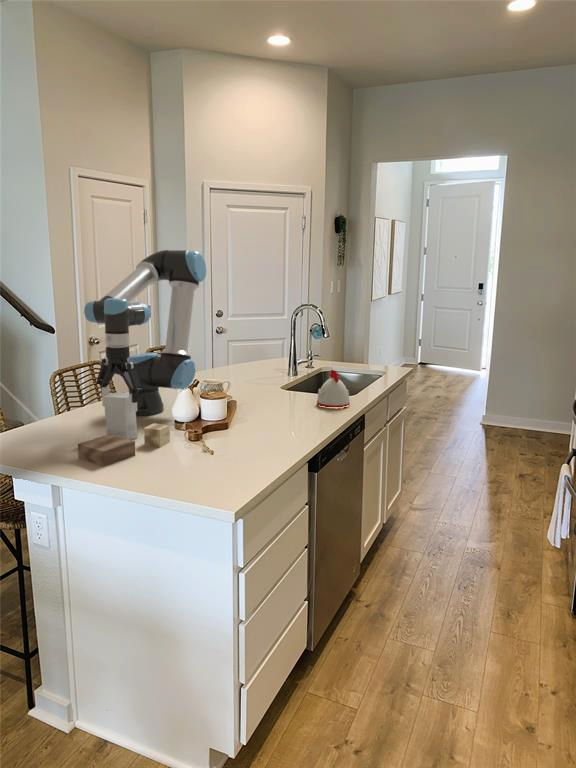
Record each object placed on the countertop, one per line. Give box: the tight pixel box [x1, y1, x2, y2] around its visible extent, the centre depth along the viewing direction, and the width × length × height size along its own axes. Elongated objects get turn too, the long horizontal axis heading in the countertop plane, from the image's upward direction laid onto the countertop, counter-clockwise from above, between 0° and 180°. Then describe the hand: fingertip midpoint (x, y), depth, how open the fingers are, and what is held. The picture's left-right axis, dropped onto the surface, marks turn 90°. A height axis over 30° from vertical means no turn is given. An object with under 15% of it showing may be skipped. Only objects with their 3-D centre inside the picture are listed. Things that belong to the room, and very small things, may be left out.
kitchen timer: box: [316, 369, 350, 407], centre depth 249 cm, size 14×14×15 cm
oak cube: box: [143, 422, 171, 448], centre depth 195 cm, size 6×6×6 cm
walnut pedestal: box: [77, 434, 136, 467], centre depth 181 cm, size 12×12×5 cm
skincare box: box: [103, 392, 138, 441], centre depth 197 cm, size 8×7×16 cm
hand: (119, 408), depth 196 cm, fingers open, 13 cm apart
